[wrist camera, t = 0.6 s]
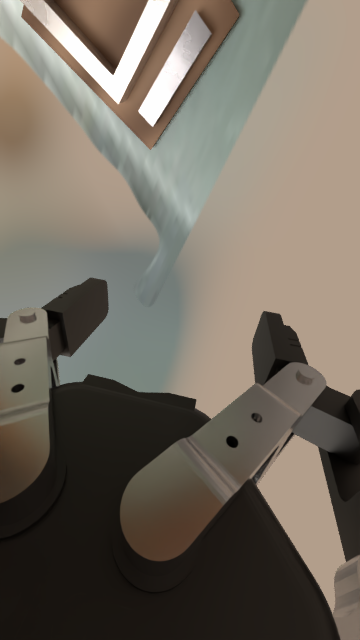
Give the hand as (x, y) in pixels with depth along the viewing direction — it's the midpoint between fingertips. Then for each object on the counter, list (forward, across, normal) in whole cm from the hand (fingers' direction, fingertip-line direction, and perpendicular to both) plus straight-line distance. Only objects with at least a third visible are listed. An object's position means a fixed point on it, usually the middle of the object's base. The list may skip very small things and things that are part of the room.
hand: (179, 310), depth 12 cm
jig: (+24, +12, -18) cm, 32 cm away
